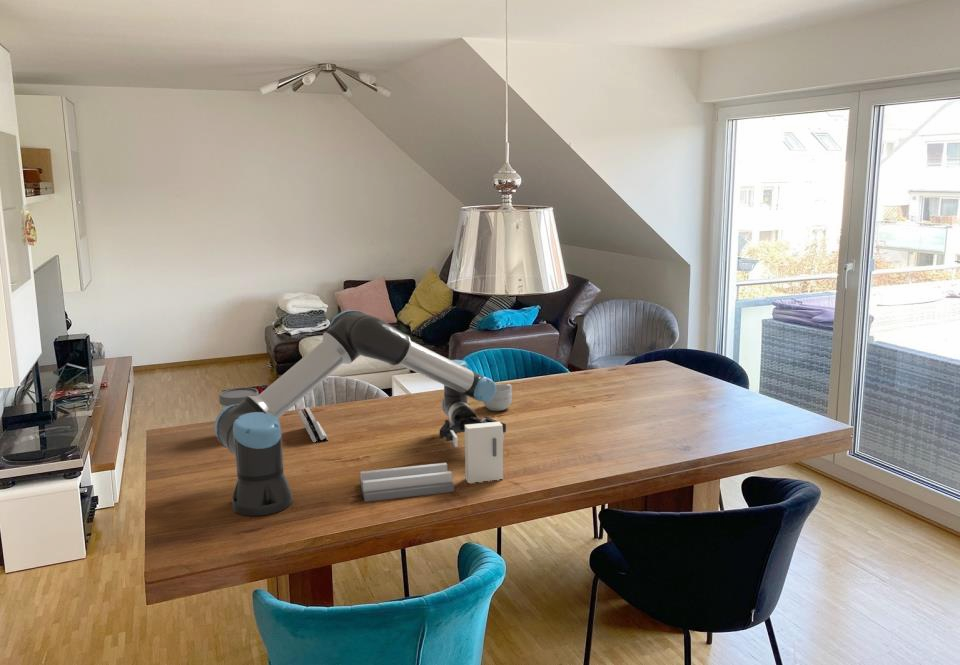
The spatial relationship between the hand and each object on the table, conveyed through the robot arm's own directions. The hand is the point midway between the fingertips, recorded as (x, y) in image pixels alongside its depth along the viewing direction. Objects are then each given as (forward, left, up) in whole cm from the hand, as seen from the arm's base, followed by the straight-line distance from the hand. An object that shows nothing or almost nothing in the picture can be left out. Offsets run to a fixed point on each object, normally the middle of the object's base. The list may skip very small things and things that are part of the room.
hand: (479, 439), depth 220 cm
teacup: (+59, +9, -10) cm, 61 cm away
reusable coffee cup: (+9, +84, -10) cm, 85 cm away
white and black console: (+16, +62, -10) cm, 65 cm away
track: (-17, +16, -9) cm, 25 cm away
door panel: (-6, -3, -9) cm, 11 cm away
